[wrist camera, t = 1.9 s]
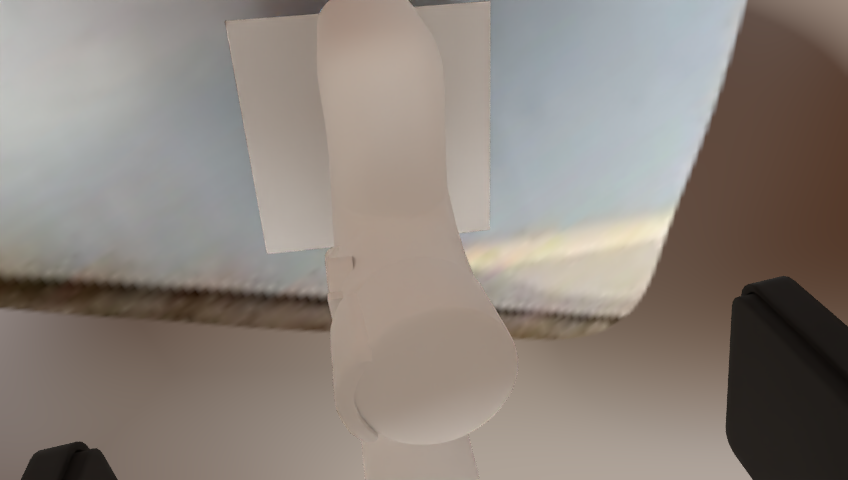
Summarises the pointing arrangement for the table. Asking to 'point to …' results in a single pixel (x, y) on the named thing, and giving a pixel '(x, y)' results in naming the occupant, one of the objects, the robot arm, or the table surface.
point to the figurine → (385, 212)
